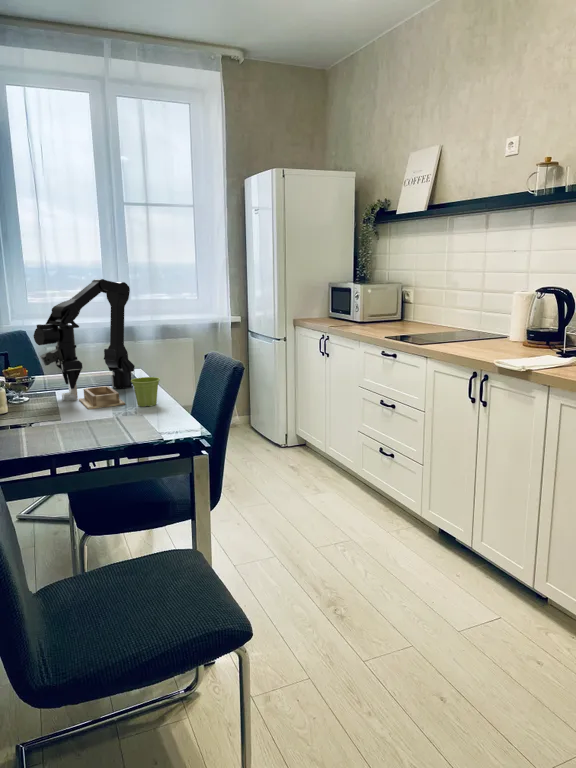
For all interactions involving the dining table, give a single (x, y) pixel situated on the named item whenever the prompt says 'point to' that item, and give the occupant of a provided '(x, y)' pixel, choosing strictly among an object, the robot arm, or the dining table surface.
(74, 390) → the bracket
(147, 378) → the plant pot
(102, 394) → the light wood shallow box
